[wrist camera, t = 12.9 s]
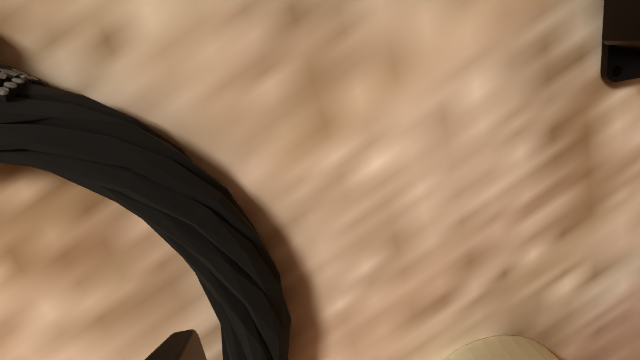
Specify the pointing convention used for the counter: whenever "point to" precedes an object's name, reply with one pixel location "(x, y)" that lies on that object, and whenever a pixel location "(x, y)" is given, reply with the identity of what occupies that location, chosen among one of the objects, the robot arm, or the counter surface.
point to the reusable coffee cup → (503, 349)
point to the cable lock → (153, 202)
